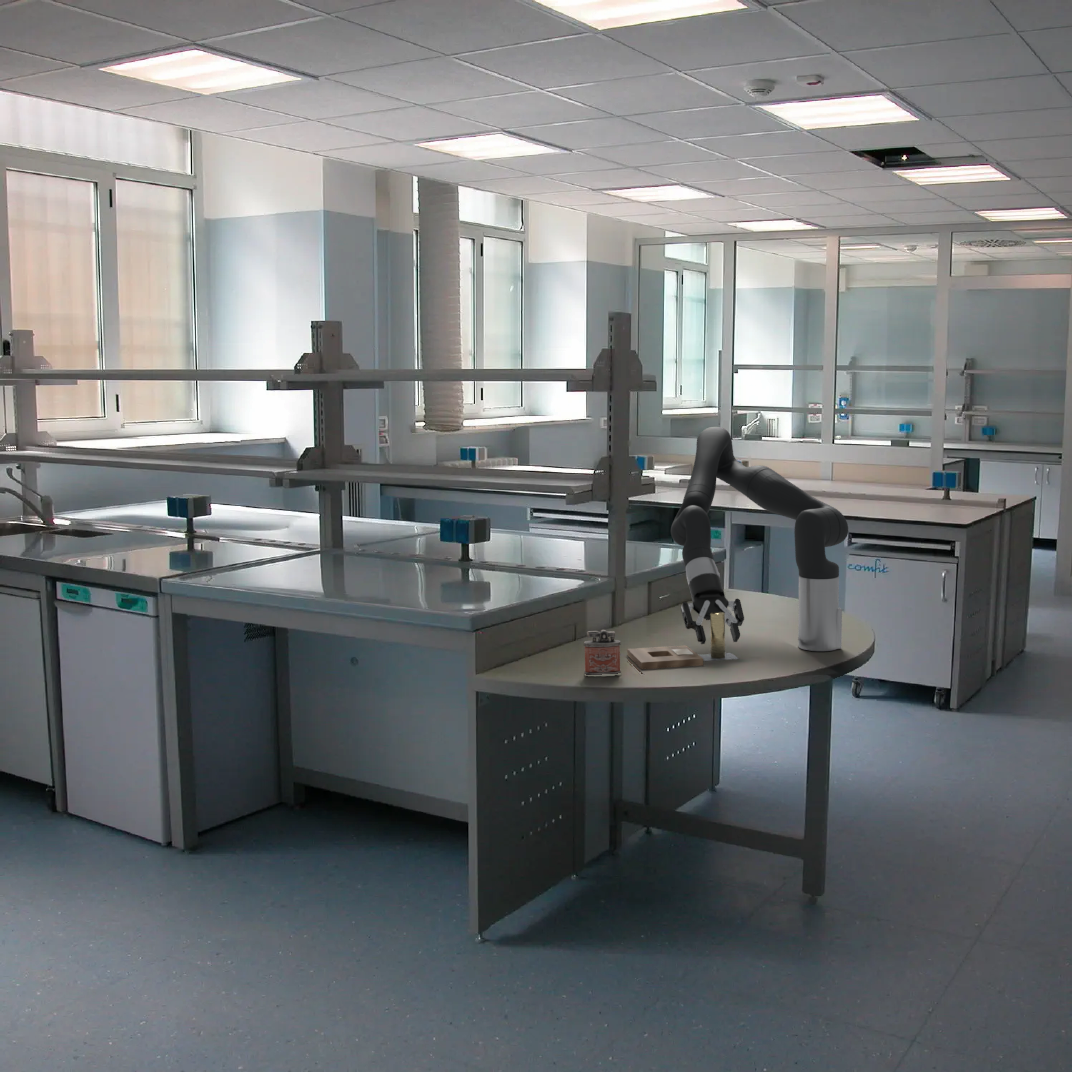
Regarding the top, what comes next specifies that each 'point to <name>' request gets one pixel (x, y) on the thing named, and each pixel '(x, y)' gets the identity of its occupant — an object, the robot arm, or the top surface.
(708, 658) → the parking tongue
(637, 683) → the top surface
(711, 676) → the top surface
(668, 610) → the top surface
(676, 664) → the hole board
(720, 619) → the brass peg
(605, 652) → the lighter
